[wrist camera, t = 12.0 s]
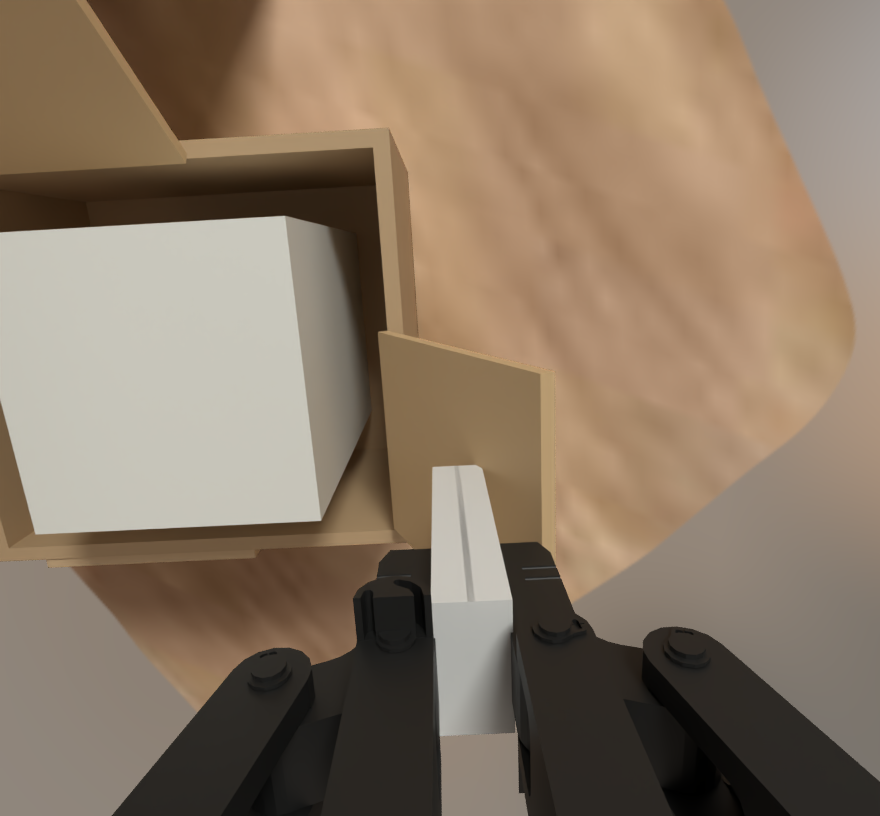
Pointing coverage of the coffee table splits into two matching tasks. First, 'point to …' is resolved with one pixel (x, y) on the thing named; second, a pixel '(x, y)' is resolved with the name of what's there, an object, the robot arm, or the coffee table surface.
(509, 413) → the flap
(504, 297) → the coffee table surface
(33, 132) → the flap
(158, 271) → the carton
